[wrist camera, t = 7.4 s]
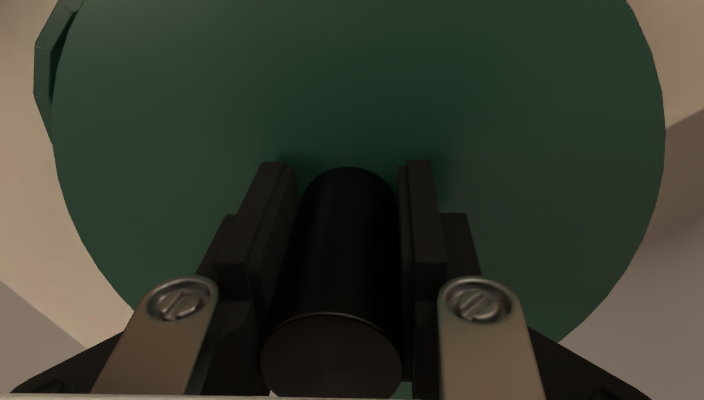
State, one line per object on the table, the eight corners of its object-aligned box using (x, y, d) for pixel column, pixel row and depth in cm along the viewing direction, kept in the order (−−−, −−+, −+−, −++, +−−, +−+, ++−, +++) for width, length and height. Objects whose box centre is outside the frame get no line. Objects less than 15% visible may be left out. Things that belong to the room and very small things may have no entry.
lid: (731, -166, 9) (1184, -258, 4) (583, 380, 17) (675, 601, 11) (-21, -122, 10) (-444, -150, 5) (152, 373, 18) (53, 572, 12)
